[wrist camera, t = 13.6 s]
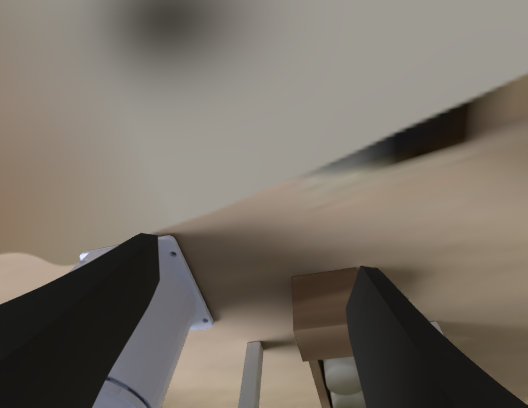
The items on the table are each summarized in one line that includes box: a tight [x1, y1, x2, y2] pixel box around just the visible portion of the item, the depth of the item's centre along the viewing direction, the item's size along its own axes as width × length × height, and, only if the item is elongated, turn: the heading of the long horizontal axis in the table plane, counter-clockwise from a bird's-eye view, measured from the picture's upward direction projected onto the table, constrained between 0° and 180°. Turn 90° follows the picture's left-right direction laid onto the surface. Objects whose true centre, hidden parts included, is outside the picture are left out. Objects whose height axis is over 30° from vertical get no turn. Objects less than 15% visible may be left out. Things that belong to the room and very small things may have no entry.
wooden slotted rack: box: [292, 267, 366, 408], centre depth 23 cm, size 17×5×5 cm, turn 15°
